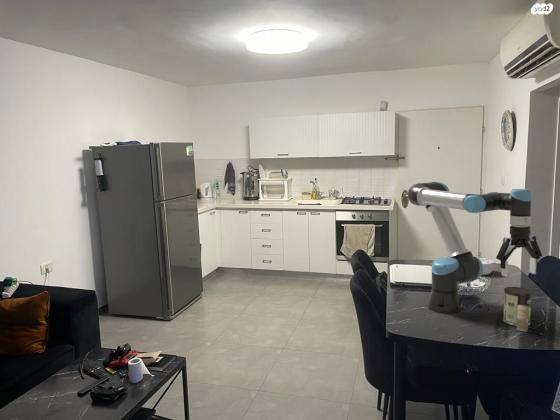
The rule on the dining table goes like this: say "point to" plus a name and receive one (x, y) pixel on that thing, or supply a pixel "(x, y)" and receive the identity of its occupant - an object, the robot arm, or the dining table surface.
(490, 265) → the paper bowls
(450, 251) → the robot arm
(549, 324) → the dining table surface
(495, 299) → the dining table surface
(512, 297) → the coffee can
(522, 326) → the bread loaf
